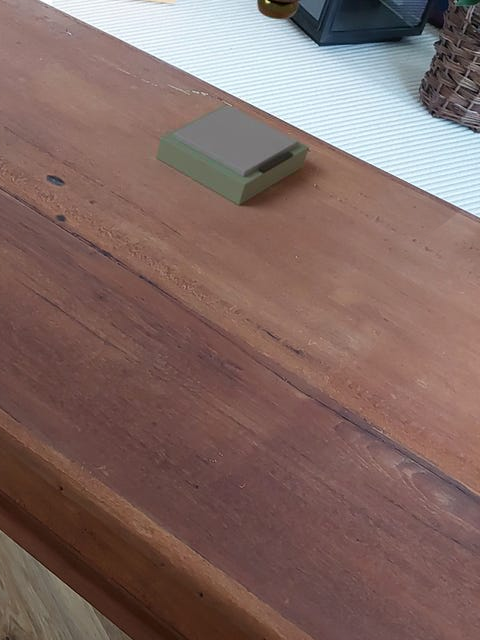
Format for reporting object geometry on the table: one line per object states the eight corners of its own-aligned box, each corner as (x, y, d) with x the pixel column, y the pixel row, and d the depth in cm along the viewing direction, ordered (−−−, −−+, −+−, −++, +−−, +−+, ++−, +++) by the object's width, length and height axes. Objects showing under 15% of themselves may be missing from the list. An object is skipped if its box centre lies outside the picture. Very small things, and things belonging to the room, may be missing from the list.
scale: (302, 167, 94) (311, 141, 92) (238, 205, 89) (246, 178, 87) (220, 124, 99) (227, 98, 97) (156, 158, 94) (161, 131, 92)
